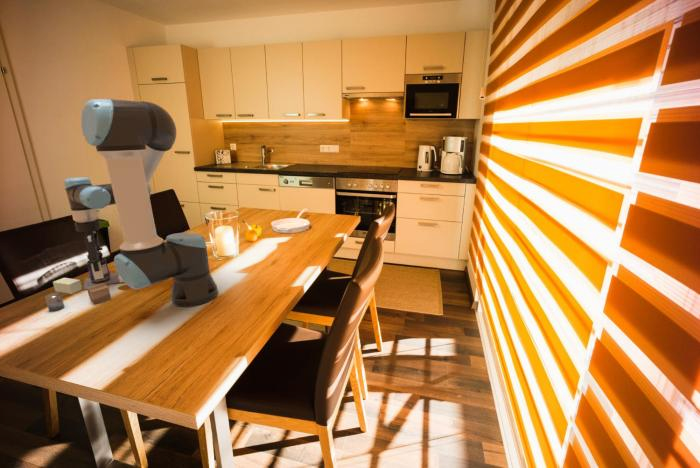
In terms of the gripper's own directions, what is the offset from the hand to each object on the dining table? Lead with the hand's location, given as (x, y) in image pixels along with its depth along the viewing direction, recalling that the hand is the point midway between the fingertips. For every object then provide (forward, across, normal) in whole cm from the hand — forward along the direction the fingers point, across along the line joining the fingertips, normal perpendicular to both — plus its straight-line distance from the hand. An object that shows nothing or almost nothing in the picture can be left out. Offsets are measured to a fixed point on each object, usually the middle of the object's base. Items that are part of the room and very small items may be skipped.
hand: (99, 272), depth 130 cm
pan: (+4, +32, -99) cm, 104 cm away
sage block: (+4, -2, +10) cm, 11 cm away
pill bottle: (+4, 0, 0) cm, 4 cm away
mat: (+4, 0, 0) cm, 4 cm away
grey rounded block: (+4, -17, +12) cm, 21 cm away
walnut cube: (+4, -18, 0) cm, 18 cm away
